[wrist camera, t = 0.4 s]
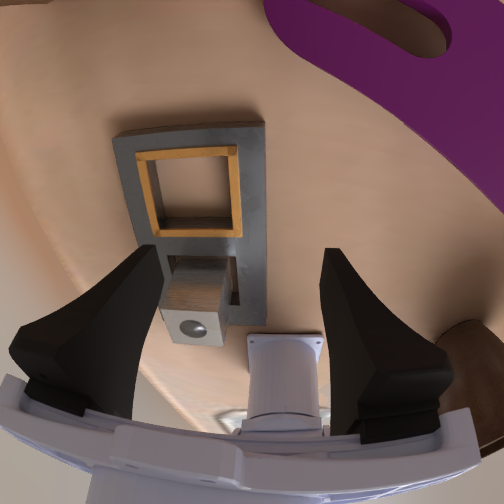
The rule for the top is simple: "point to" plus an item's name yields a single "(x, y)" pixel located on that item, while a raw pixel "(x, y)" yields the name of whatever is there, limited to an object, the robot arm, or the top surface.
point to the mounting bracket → (419, 76)
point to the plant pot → (476, 381)
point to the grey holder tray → (203, 228)
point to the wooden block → (23, 2)
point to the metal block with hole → (199, 300)
